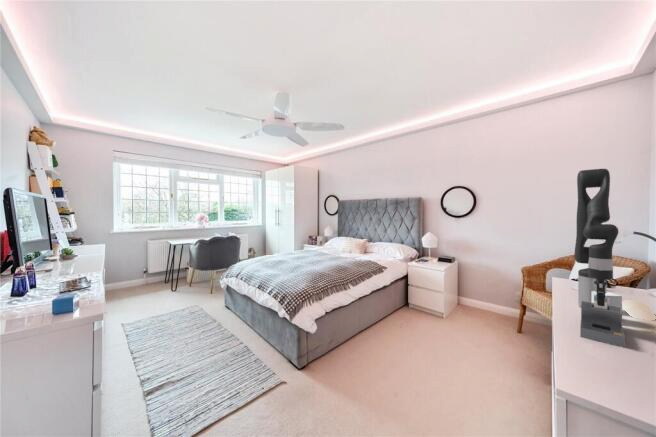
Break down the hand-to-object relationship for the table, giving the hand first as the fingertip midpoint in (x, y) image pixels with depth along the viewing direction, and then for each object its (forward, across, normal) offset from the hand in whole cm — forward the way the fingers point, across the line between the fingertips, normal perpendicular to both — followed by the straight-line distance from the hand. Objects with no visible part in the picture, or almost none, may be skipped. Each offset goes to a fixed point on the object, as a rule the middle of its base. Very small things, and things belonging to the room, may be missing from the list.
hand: (600, 303), depth 111 cm
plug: (+5, 0, 0) cm, 5 cm away
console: (+11, +7, 0) cm, 13 cm away
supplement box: (+11, -14, +2) cm, 18 cm away
